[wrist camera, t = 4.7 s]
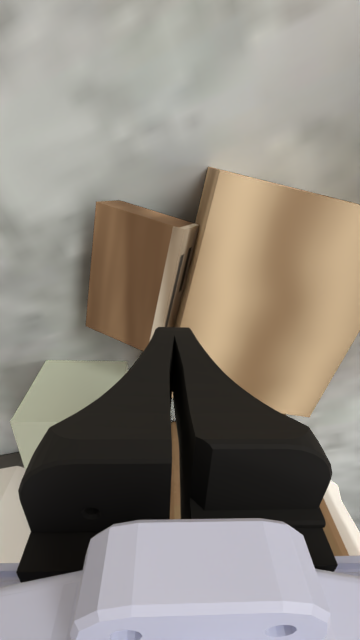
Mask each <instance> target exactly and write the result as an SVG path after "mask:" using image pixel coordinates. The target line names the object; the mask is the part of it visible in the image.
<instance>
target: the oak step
mask: <svg viewBox="0 0 360 640" xmlns="http://www.w3.org/2000/svg"><path fill="white" fill-rule="evenodd" d="M195 224H198V225H199V228H198V232H197V236H196V240H195V244H194V248H193V253H192V257H191V261H190V265H189V269H188V273H187V277H186V281H185V285H184V289H183V293H182V297H181V302H180V306H179V310H178V314H177V318H176V322H175V326H174V327H189V328H190V329H191V330H192V332H193V333H194V335H195V337H196V338H197V340H198V341H199V343H200V344H201V346H202V347H203V348H204V350H205V351H206V352H207V354H208V355H209V356H210V357H211V359H212V360H213V361H214V362H215V363H216V364H217V365H218V367H219V368H220V369H221V370H222V371H223V372H224V373H225V374H226V375H227V376H228V377H229V378H231V379H232V380H233V381H234V382H235V383H236V384H238V385H239V386H240V387H241V388H243V389H244V390H245V391H247V392H248V393H250V394H251V395H252V396H254V397H255V398H257V399H258V400H260V401H261V402H263V403H264V404H266V405H268V406H269V407H271V408H273V409H275V410H276V411H278V412H280V413H283V414H290V415H297V416H304V417H310V415H311V413H312V412H313V410H314V408H315V407H316V405H317V403H318V401H319V400H320V398H321V396H322V395H323V393H324V391H325V389H326V388H327V386H328V384H329V382H330V381H331V379H332V377H333V376H334V374H335V372H336V370H337V369H338V367H339V365H340V364H341V362H342V360H343V358H344V357H345V355H346V353H347V352H348V350H349V348H350V346H351V345H352V343H353V341H354V340H355V338H356V336H357V334H358V333H359V331H360V204H356V203H352V202H348V201H344V200H340V199H336V198H332V197H328V196H324V195H320V194H316V193H312V192H308V191H304V190H300V189H296V188H292V187H288V186H284V185H280V184H276V183H272V182H268V181H264V180H260V179H256V178H252V177H248V176H244V175H240V174H236V173H232V172H228V171H224V170H220V169H216V168H212V167H208V170H207V175H206V179H205V183H204V187H203V191H202V196H201V200H200V204H199V208H198V212H197V217H196V221H195ZM172 398H173V392H172Z"/></svg>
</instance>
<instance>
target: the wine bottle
mask: <svg viewBox="0 0 360 640" xmlns="http://www.w3.org/2000/svg"><path fill="white" fill-rule="evenodd" d="M24 473H25V468H24V465H23V461H22V458H21V455H20V452H17V453H12V454H7V455H1V456H0V563H20V560H21V557H22V555H23V552H24V549H25V546H26V544H27V541H28V538H29V535H30V532H31V530H30V528H29V525H28V522H27V519H26V517H25V514H24V511H23V508H22V505H21V503H20V500H19V492H18V489H19V486H20V483H21V480H22V478H23V476H24Z"/></svg>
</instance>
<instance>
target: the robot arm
mask: <svg viewBox="0 0 360 640" xmlns="http://www.w3.org/2000/svg"><path fill="white" fill-rule="evenodd" d="M172 392H173V401H174V409H175V417H176V425H177V433H178V443H179V466H180V514H181V519H170V498H171V475H172V435H171V415H170V409H171V399H172ZM331 476H332V469H331V464H330V462H329V460H328V458H327V456H326V455H325V453H324V451H323V449H322V447H321V445H320V444H319V442H318V440H317V439H316V437H315V436H314V434H313V433H312V431H311V430H310V428H309V427H308V426H306V425H304V424H302V423H300V422H298V421H296V420H294V419H292V418H290V417H288V416H286V415H284V414H282V413H280V412H278V411H276V410H275V409H273V408H271V407H269V406H268V405H266V404H264V403H263V402H261V401H260V400H258V399H257V398H255V397H254V396H252V395H251V394H250V393H248V392H247V391H245V390H244V389H243V388H241V387H240V386H239V385H238V384H236V383H235V382H234V381H233V380H232V379H231V378H229V377H228V376H227V375H226V374H225V373H224V372H223V371H222V370H221V369H220V368H219V367H218V365H217V364H216V363H215V362H214V361H213V360H212V359H211V357H210V356H209V355H208V354H207V352H206V351H205V350H204V348H203V347H202V346H201V344H200V343H199V341H198V340H197V338H196V337H195V335H194V333H193V332H192V330H191V329H190V328H189V327H158V328H156V329H155V332H154V334H153V336H152V338H151V340H150V342H149V344H148V345H147V347H146V348H145V350H144V351H143V353H142V354H141V356H140V357H139V358H138V360H137V361H136V362H135V363H134V365H133V366H132V367H131V368H130V369H129V371H128V372H127V373H126V374H125V375H124V376H123V377H122V378H121V379H120V380H119V381H118V382H117V383H116V384H115V385H114V386H112V387H111V388H110V389H109V390H108V391H107V392H106V393H104V394H103V395H102V396H101V397H99V398H98V399H97V400H95V401H94V402H92V403H91V404H89V405H88V406H86V407H85V408H83V409H82V410H80V411H78V412H77V413H75V414H73V415H71V416H70V417H68V418H66V419H64V420H62V421H60V422H59V423H57V424H55V425H53V426H51V427H49V429H48V430H47V432H46V433H45V435H44V437H43V438H42V440H41V442H40V443H39V445H38V447H37V448H36V450H35V452H34V454H33V456H32V458H31V460H30V462H29V464H28V467H27V469H26V471H25V473H24V476H23V478H22V480H21V483H20V486H19V489H18V492H19V500H20V503H21V505H22V508H23V511H24V514H25V517H26V519H27V522H28V525H29V528H30V530H31V532H30V535H29V538H28V541H27V544H26V546H25V549H24V552H23V555H22V557H21V560H20V563H0V640H360V555H359V556H334V554H333V552H332V549H331V547H330V544H329V542H328V540H327V537H326V535H325V532H324V530H323V528H324V527H325V525H326V522H325V518H324V516H323V514H322V511H321V509H320V507H319V506H320V504H321V501H322V499H323V497H324V495H325V492H326V490H327V488H328V486H329V483H330V480H331Z"/></svg>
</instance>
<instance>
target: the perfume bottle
mask: <svg viewBox="0 0 360 640" xmlns="http://www.w3.org/2000/svg"><path fill="white" fill-rule="evenodd" d="M323 498H324V500H325V503H326V505H327V507H328V509H329V512H330V514H331V516H332V518H333V520H334V523H335V525H336V527H337V529H338V532H339V534H340V536H341V538H342V540H343V543H344V545H345V547H346V549H347V551H348V554H349V556H359V555H360V532H359V530H358V529H357V527H356V525H355V523H354V522H353V520H352V518H351V516H350V515H349V513H348V511H347V510H346V508H345V506H344V504H343V503H342V501H341V496H340V492H339V488H338V485H337V484H336V483H334V482H332V481H331V480H330V483H329V486H328V488H327V490H326V492H325V495H324V497H323Z"/></svg>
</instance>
